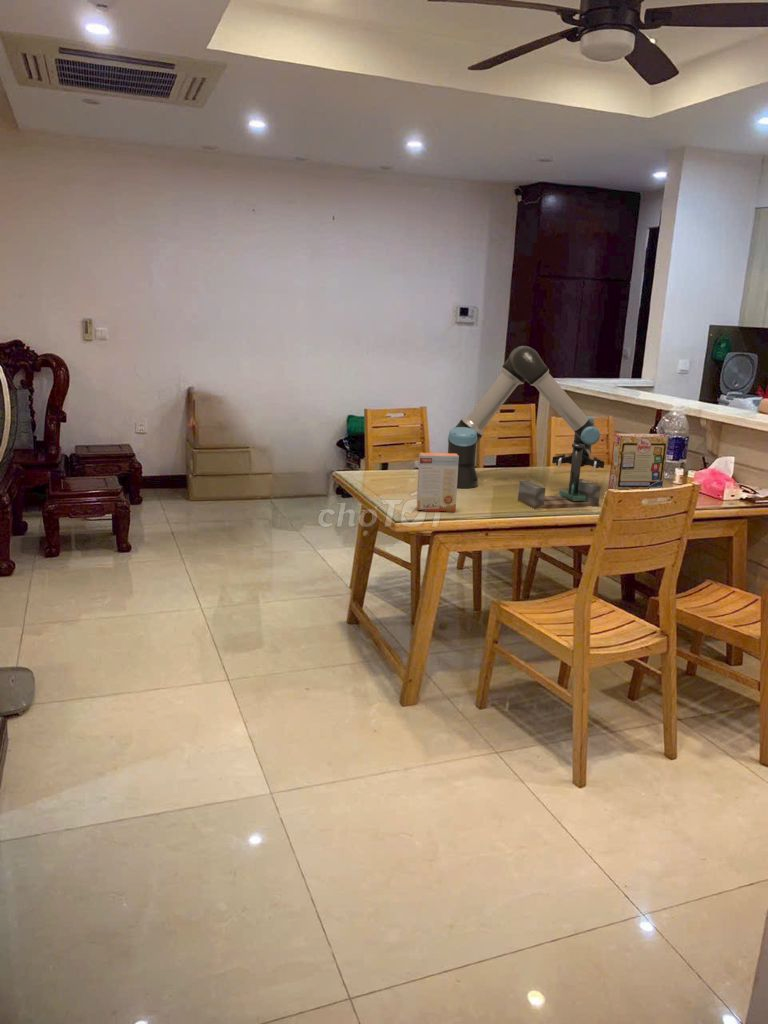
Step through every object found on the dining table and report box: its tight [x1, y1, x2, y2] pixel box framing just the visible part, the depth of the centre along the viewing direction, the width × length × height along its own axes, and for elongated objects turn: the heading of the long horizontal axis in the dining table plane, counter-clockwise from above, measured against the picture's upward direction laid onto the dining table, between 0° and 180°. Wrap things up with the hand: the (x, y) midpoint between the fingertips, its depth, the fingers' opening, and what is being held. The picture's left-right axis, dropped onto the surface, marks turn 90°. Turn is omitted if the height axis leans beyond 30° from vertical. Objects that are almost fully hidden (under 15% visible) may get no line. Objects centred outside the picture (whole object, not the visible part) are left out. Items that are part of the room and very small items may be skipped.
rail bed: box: [517, 478, 601, 510], centre depth 294 cm, size 28×13×8 cm, turn 108°
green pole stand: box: [558, 443, 587, 501], centre depth 294 cm, size 6×10×21 cm, turn 18°
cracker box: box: [416, 452, 459, 513], centre depth 275 cm, size 14×6×21 cm, turn 92°
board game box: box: [607, 433, 670, 490], centre depth 301 cm, size 20×6×27 cm, turn 98°
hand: (576, 465), depth 297 cm, fingers open, 13 cm apart
